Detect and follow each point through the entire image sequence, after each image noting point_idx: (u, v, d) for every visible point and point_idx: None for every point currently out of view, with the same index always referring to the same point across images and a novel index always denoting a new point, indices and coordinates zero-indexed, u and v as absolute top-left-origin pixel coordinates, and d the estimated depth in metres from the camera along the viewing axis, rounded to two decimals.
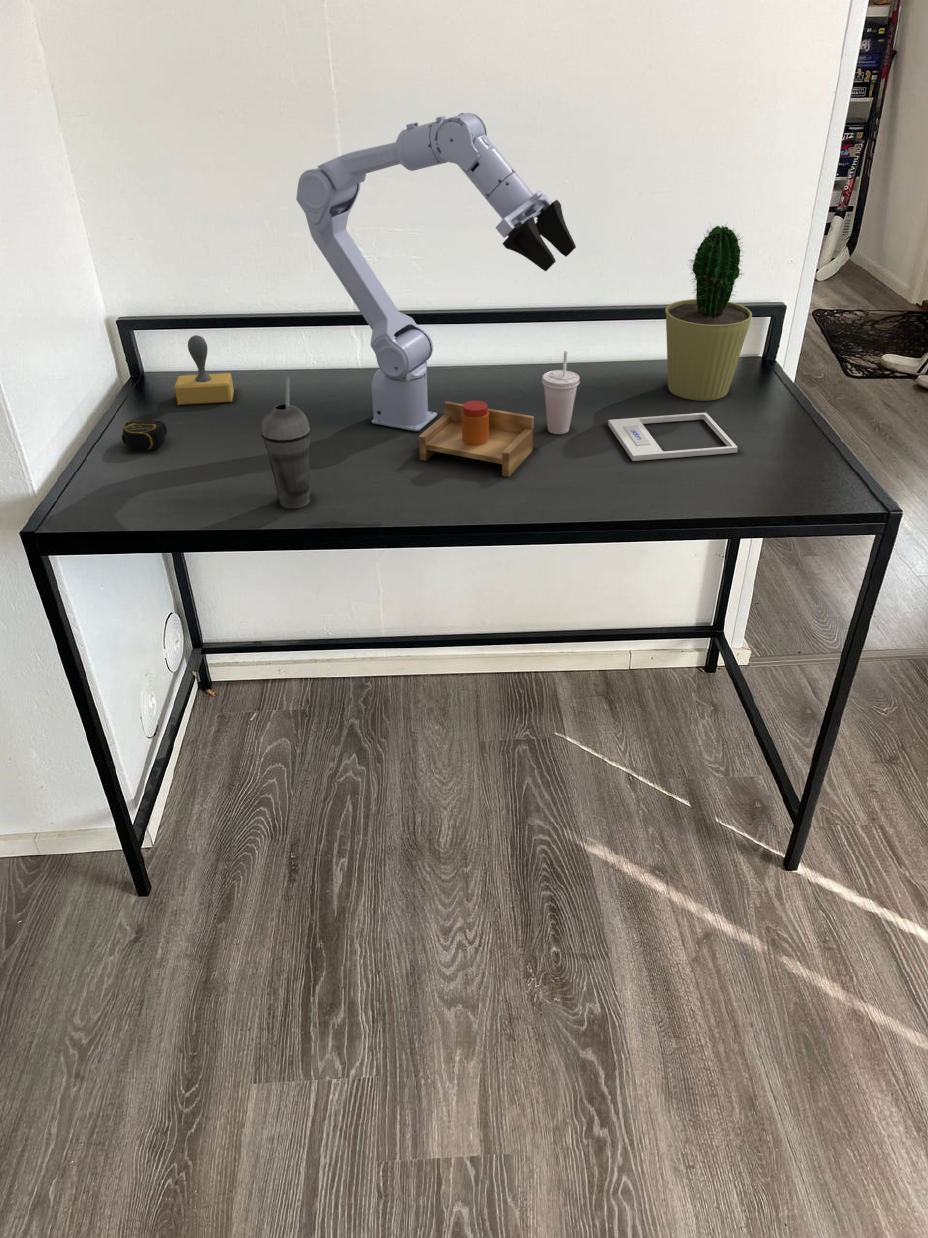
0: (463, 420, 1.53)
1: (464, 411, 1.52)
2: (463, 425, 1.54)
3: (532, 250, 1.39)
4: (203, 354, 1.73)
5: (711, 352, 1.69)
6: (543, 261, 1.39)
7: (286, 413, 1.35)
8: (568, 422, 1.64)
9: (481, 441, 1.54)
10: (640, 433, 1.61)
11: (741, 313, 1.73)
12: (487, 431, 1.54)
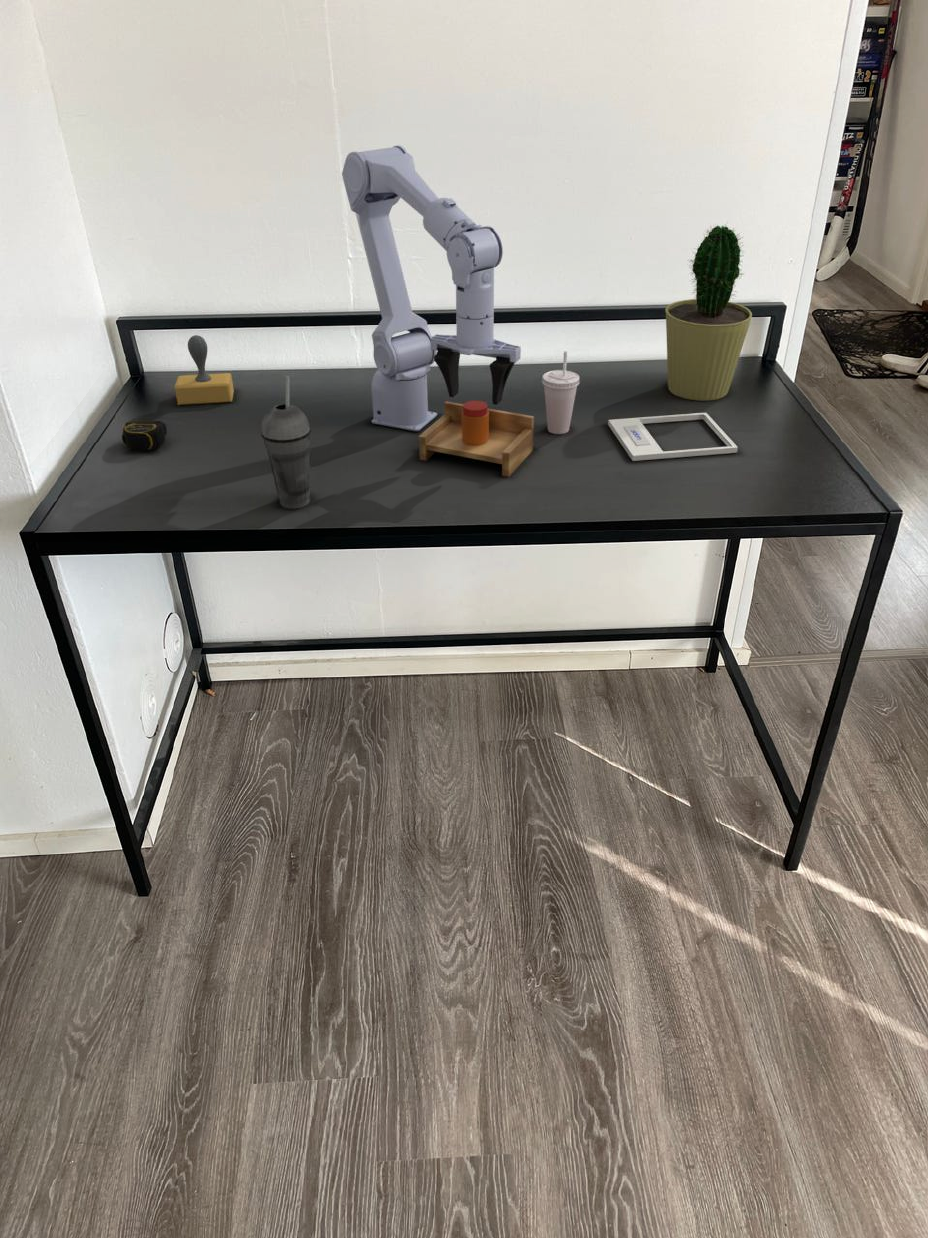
0: (463, 420, 1.53)
1: (464, 411, 1.52)
2: (463, 425, 1.54)
3: None
4: (203, 354, 1.73)
5: (711, 352, 1.69)
6: None
7: (286, 413, 1.35)
8: (568, 422, 1.64)
9: (481, 441, 1.54)
10: (640, 433, 1.61)
11: (741, 313, 1.73)
12: (487, 431, 1.54)
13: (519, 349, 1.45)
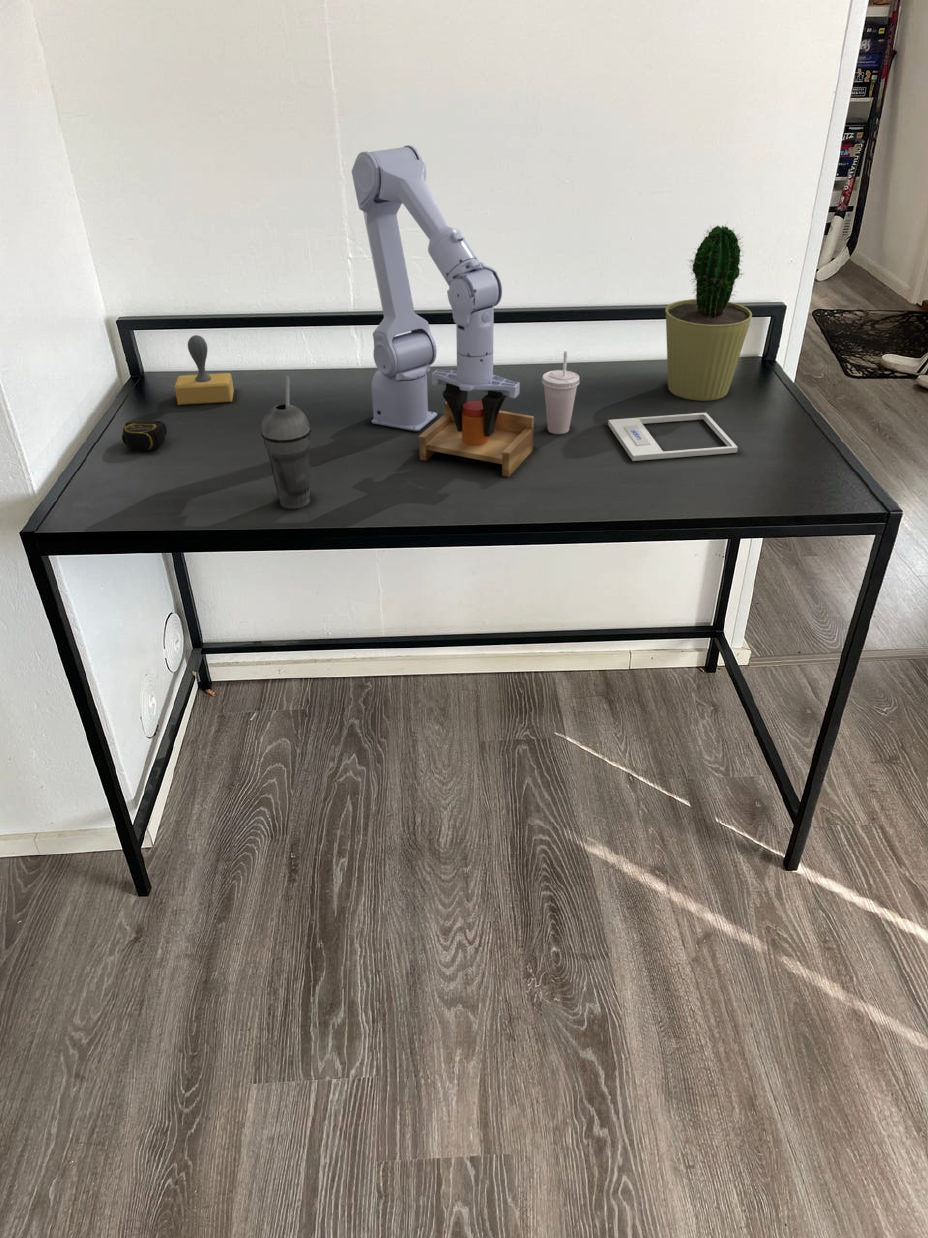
0: (463, 420, 1.53)
1: (464, 411, 1.52)
2: (463, 425, 1.54)
3: None
4: (203, 354, 1.73)
5: (711, 352, 1.69)
6: None
7: (286, 413, 1.35)
8: (568, 422, 1.64)
9: (481, 441, 1.54)
10: (640, 433, 1.61)
11: (741, 313, 1.73)
12: None
13: (518, 385, 1.48)
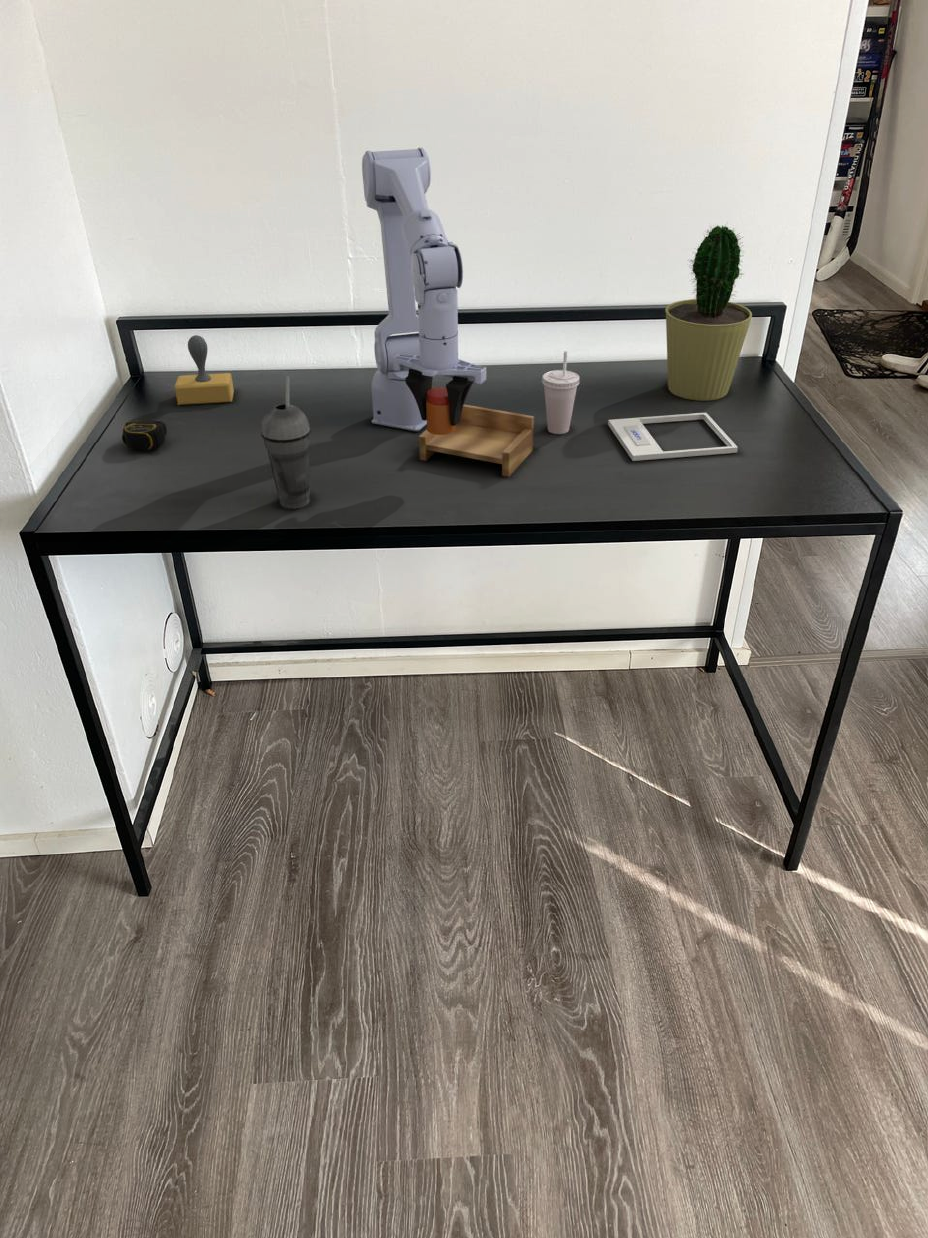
0: (427, 408, 1.44)
1: (428, 398, 1.43)
2: (427, 414, 1.44)
3: None
4: (203, 354, 1.73)
5: (711, 352, 1.69)
6: None
7: (286, 413, 1.35)
8: (568, 422, 1.64)
9: (447, 430, 1.45)
10: (640, 433, 1.61)
11: (741, 313, 1.73)
12: None
13: (484, 370, 1.39)
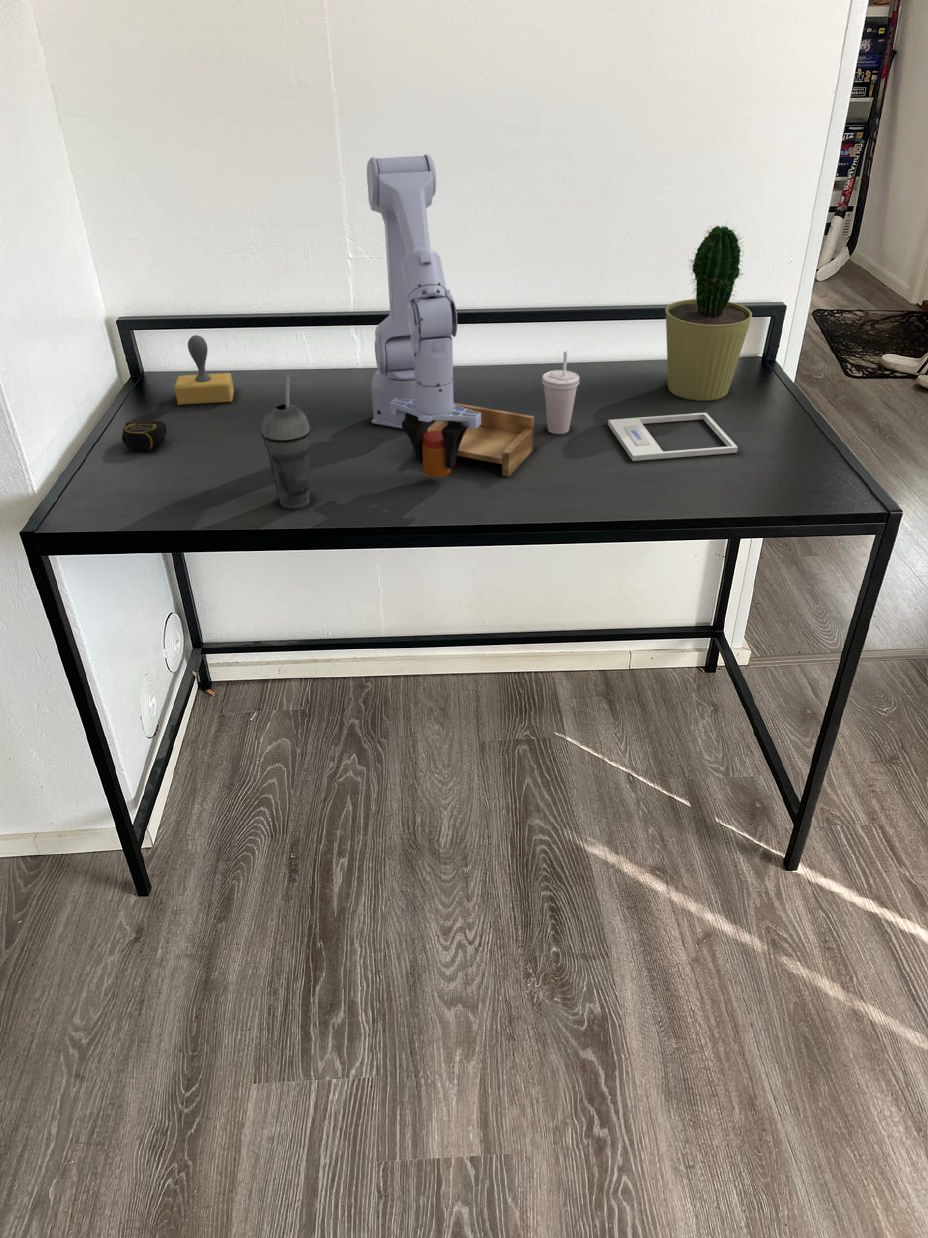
0: (423, 451, 1.47)
1: (424, 442, 1.46)
2: (423, 456, 1.47)
3: None
4: (203, 354, 1.73)
5: (711, 352, 1.69)
6: None
7: (286, 413, 1.35)
8: (568, 422, 1.64)
9: (443, 472, 1.48)
10: (640, 433, 1.61)
11: (741, 313, 1.73)
12: None
13: (479, 416, 1.42)
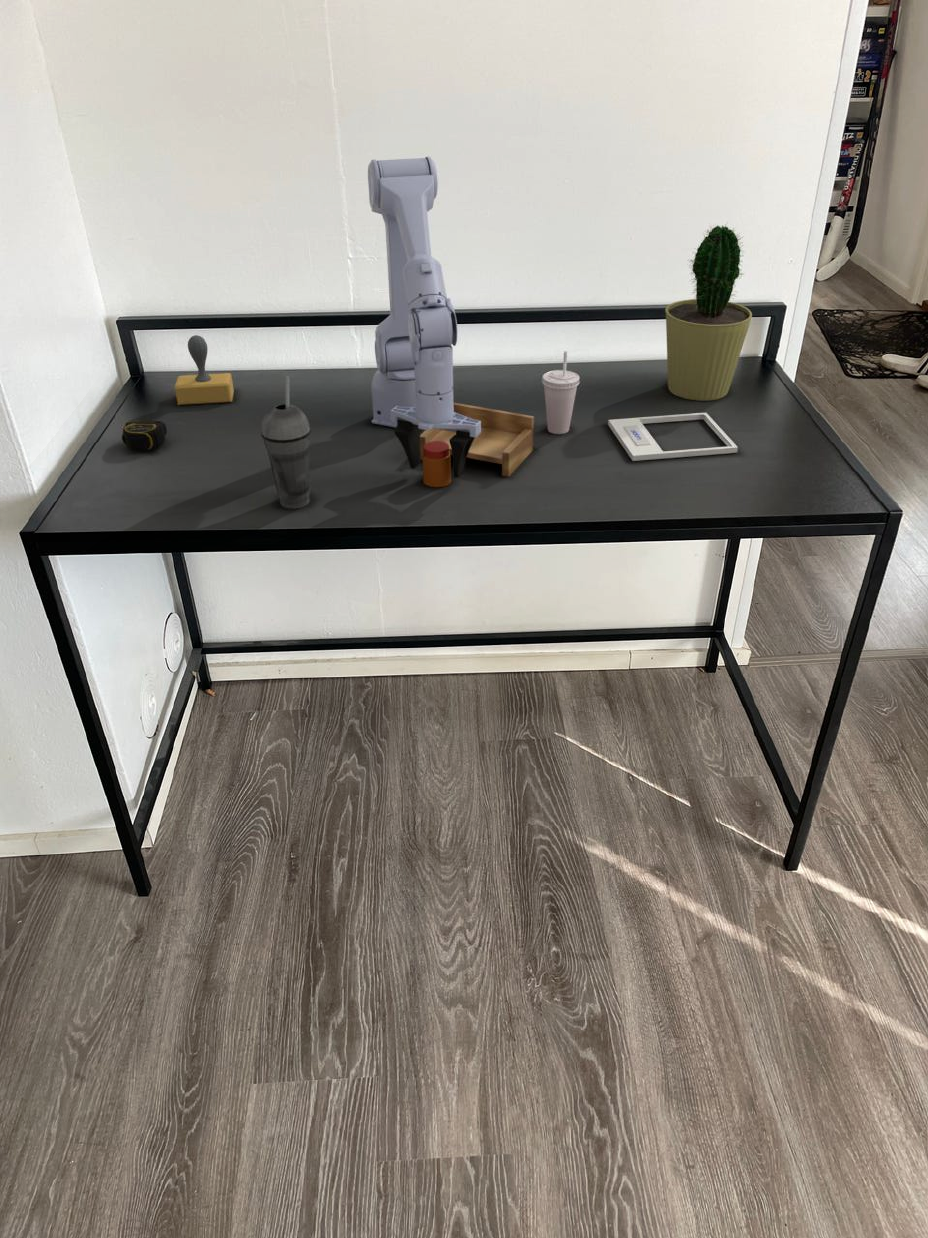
0: (424, 461, 1.48)
1: (424, 452, 1.47)
2: (423, 467, 1.48)
3: None
4: (203, 354, 1.73)
5: (711, 352, 1.69)
6: None
7: (286, 413, 1.35)
8: (568, 422, 1.64)
9: (443, 483, 1.49)
10: (640, 433, 1.61)
11: (741, 313, 1.73)
12: (449, 472, 1.49)
13: (479, 424, 1.42)
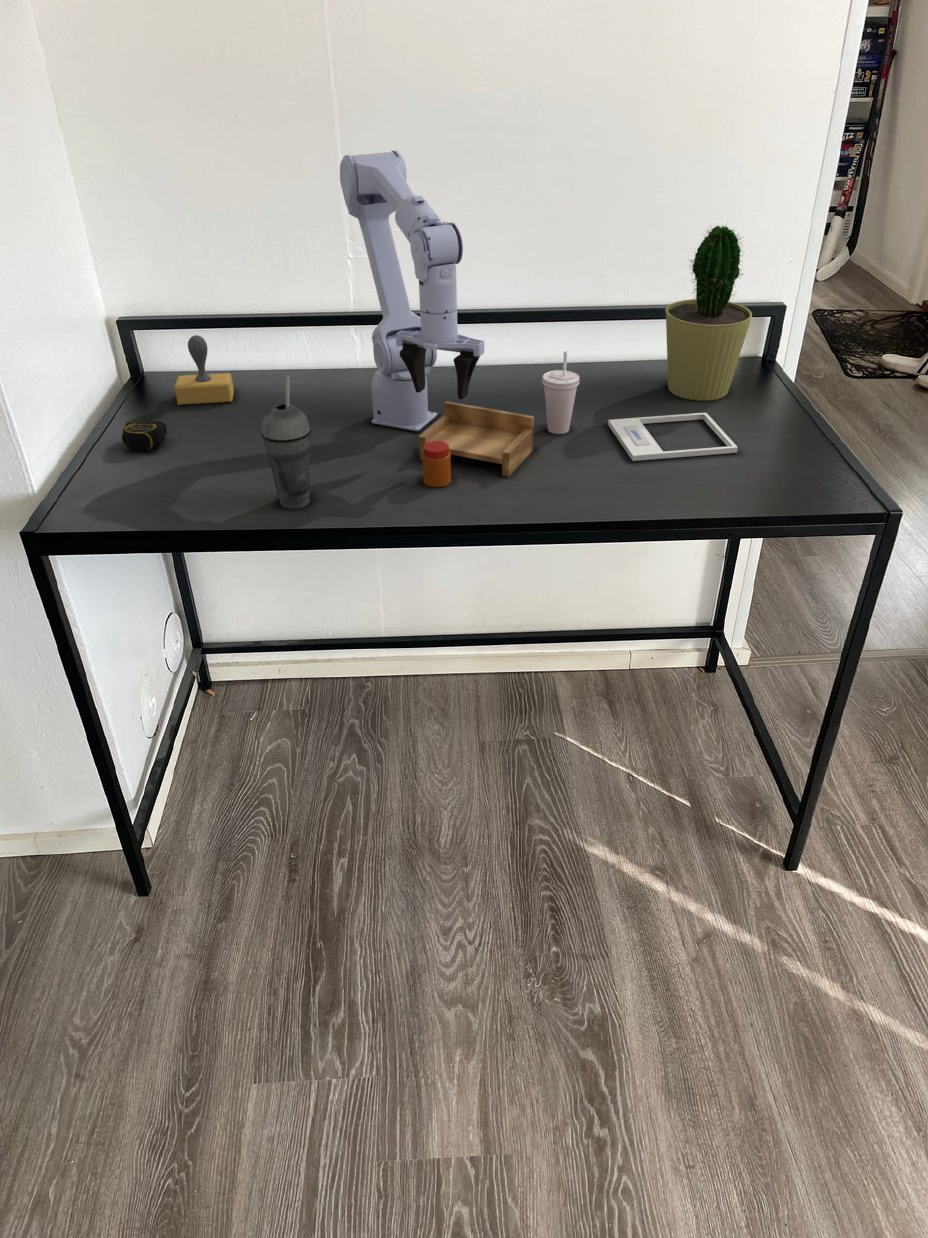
0: (424, 461, 1.48)
1: (424, 452, 1.47)
2: (423, 467, 1.48)
3: None
4: (203, 354, 1.73)
5: (711, 352, 1.69)
6: None
7: (286, 413, 1.35)
8: (568, 422, 1.64)
9: (443, 483, 1.49)
10: (640, 433, 1.61)
11: (741, 313, 1.73)
12: (449, 472, 1.49)
13: (483, 343, 1.46)
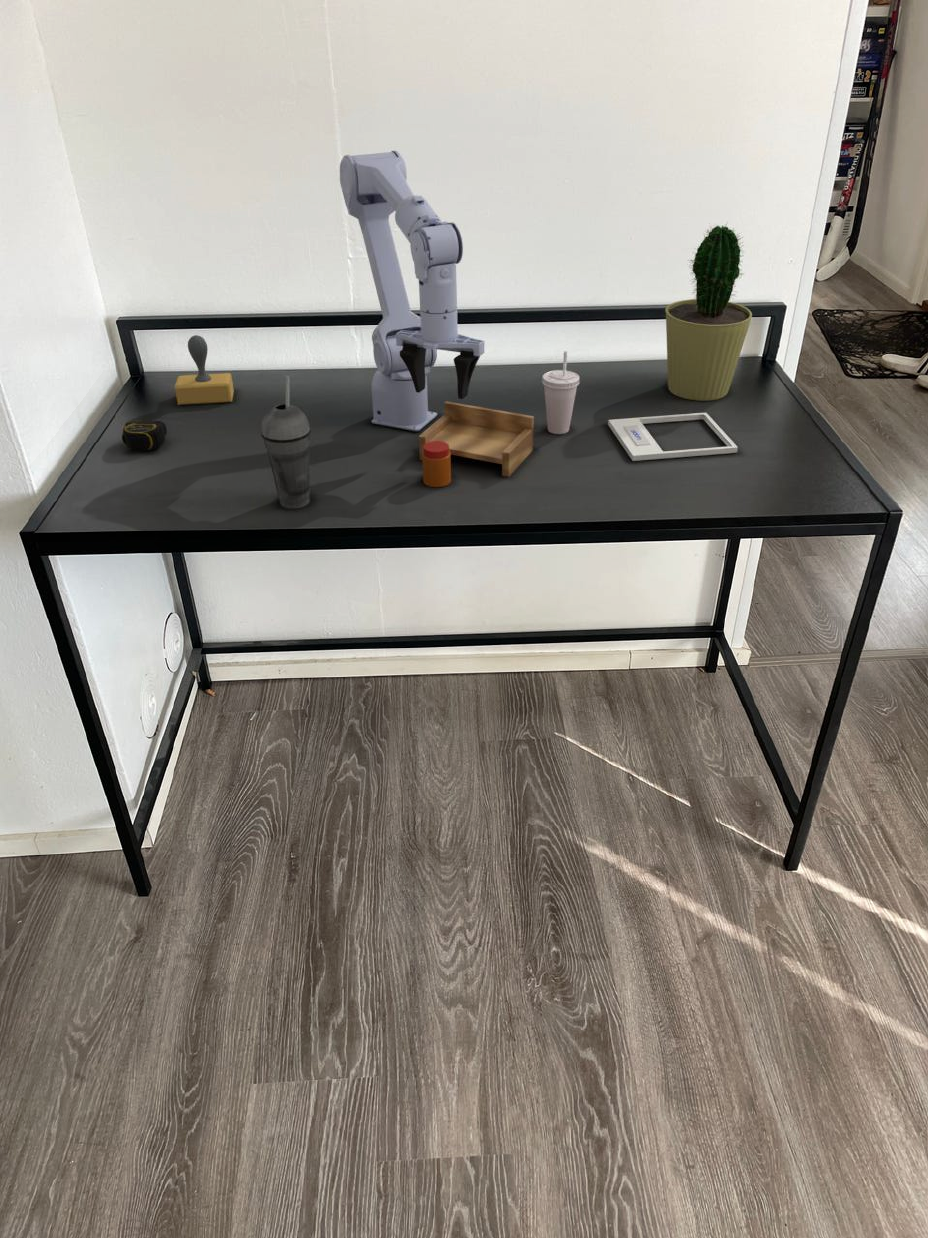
0: (424, 461, 1.48)
1: (424, 452, 1.47)
2: (423, 467, 1.48)
3: None
4: (203, 354, 1.73)
5: (711, 352, 1.69)
6: None
7: (286, 413, 1.35)
8: (568, 422, 1.64)
9: (443, 483, 1.49)
10: (640, 433, 1.61)
11: (741, 313, 1.73)
12: (449, 472, 1.49)
13: (483, 343, 1.46)
